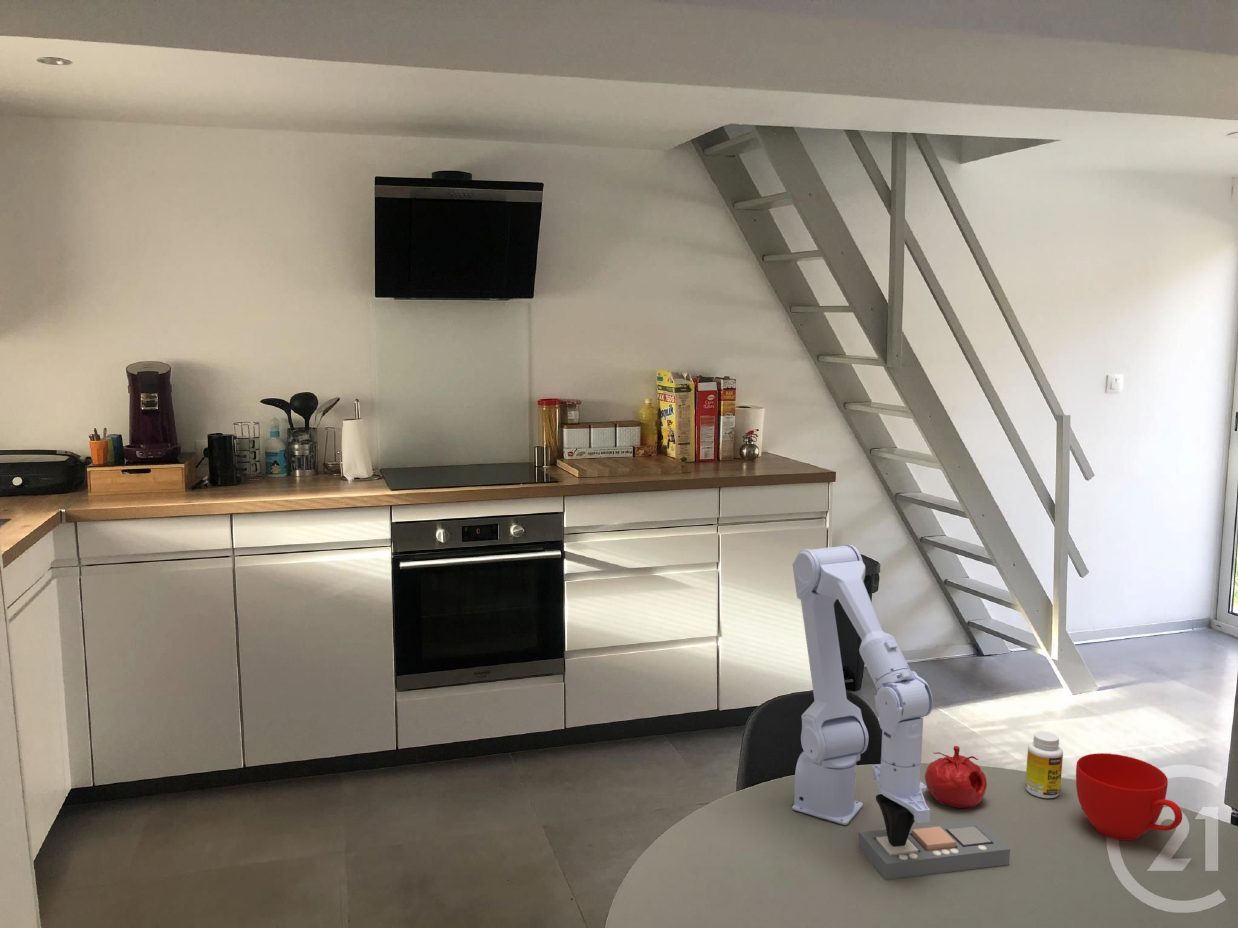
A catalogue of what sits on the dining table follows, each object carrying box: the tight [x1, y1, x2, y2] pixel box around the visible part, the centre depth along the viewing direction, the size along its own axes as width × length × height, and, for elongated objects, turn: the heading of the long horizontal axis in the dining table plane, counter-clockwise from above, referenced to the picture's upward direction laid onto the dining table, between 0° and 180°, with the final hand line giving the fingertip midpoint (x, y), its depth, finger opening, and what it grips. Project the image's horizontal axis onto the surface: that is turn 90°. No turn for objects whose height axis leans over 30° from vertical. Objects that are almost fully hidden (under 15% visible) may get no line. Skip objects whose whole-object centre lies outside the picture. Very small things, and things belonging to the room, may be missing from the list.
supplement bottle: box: [1024, 731, 1064, 799], centre depth 169 cm, size 6×6×10 cm
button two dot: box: [876, 836, 919, 856], centre depth 148 cm, size 5×5×2 cm
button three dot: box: [912, 826, 956, 851], centre depth 149 cm, size 5×5×2 cm
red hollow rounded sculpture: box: [924, 745, 988, 809], centre depth 167 cm, size 10×10×9 cm
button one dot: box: [948, 826, 991, 847], centre depth 151 cm, size 5×5×2 cm
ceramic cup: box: [1075, 752, 1183, 841], centre depth 155 cm, size 13×17×10 cm
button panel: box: [857, 818, 1011, 881], centre depth 150 cm, size 20×9×3 cm, turn 102°
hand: (897, 843), depth 148 cm, fingers closed, pressing on button two dot
